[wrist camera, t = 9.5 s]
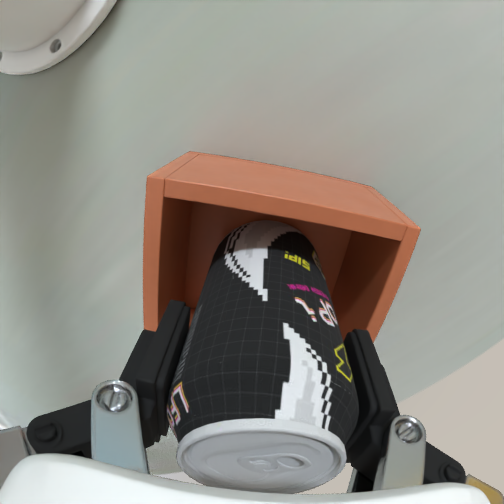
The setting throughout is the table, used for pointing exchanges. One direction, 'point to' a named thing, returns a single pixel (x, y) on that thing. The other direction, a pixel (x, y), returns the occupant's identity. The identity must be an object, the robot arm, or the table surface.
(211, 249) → the bin
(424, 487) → the robot arm
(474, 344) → the table surface
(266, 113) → the table surface
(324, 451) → the beverage can
